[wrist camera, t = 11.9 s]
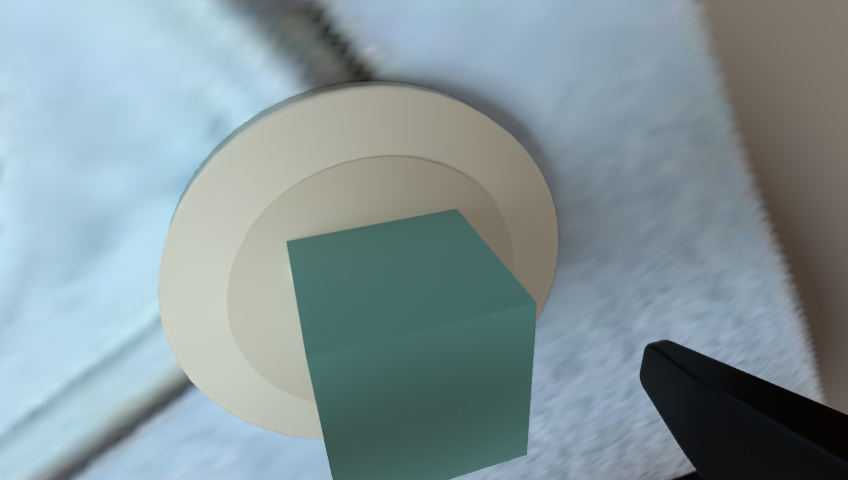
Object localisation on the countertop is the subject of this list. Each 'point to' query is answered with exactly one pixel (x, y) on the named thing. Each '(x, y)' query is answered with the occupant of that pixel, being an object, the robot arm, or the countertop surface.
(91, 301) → the countertop surface
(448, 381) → the block
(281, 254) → the saucer
